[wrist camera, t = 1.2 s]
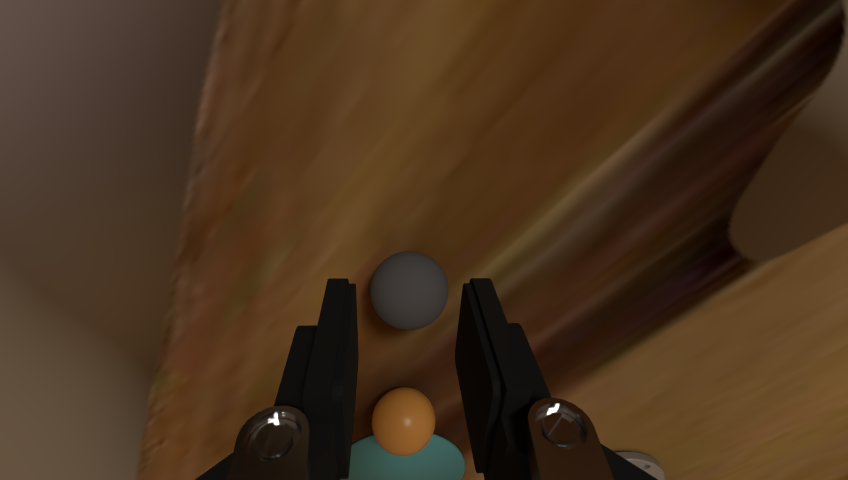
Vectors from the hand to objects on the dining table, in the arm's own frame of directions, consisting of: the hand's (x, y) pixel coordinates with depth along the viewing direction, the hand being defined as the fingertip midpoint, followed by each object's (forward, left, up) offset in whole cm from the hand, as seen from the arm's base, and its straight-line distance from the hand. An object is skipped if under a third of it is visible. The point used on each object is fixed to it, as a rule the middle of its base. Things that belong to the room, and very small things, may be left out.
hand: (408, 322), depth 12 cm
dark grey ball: (-9, +4, -15) cm, 17 cm away
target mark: (-31, +17, -17) cm, 39 cm away
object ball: (-21, +11, -15) cm, 28 cm away
